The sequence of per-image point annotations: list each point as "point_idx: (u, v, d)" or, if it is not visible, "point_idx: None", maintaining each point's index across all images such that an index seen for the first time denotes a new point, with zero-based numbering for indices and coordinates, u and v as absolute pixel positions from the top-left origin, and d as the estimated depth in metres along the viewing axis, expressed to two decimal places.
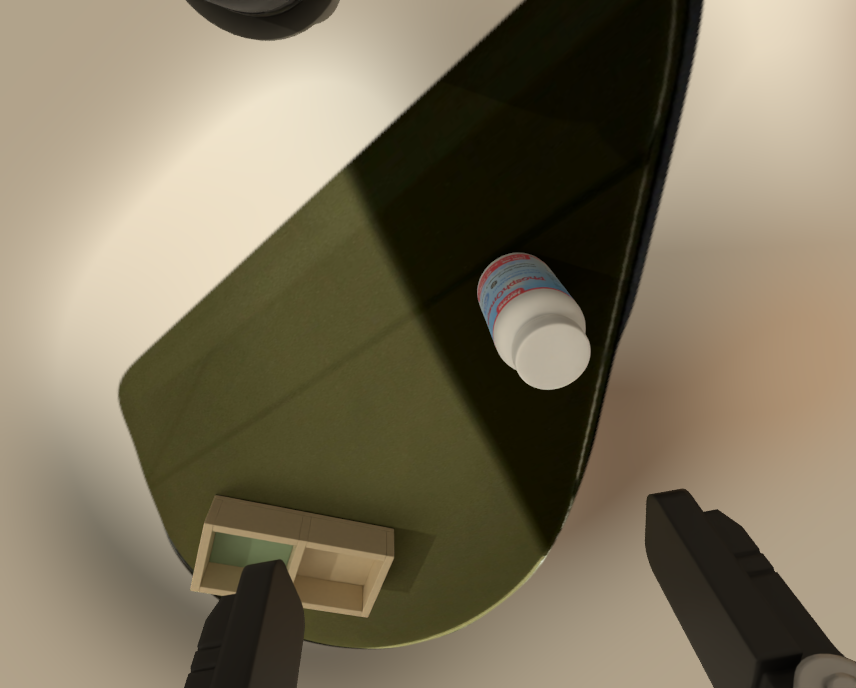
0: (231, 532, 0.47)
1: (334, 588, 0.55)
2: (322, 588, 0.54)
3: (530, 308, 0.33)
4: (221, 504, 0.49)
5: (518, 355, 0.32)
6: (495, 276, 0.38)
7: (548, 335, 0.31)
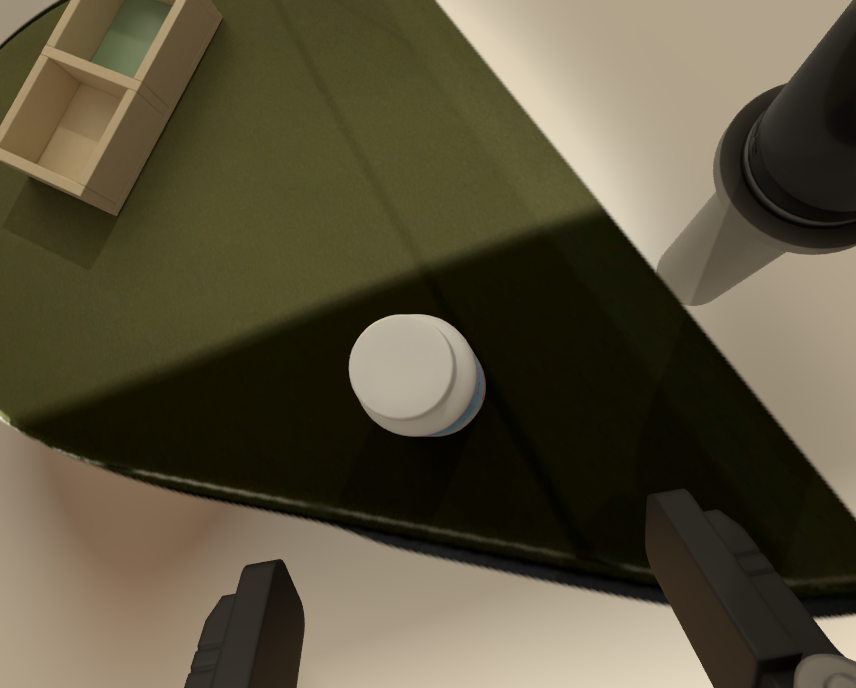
0: (174, 7, 0.38)
1: (44, 126, 0.40)
2: (49, 110, 0.40)
3: (459, 354, 0.25)
4: (210, 16, 0.40)
5: (411, 318, 0.23)
6: None
7: (435, 358, 0.23)
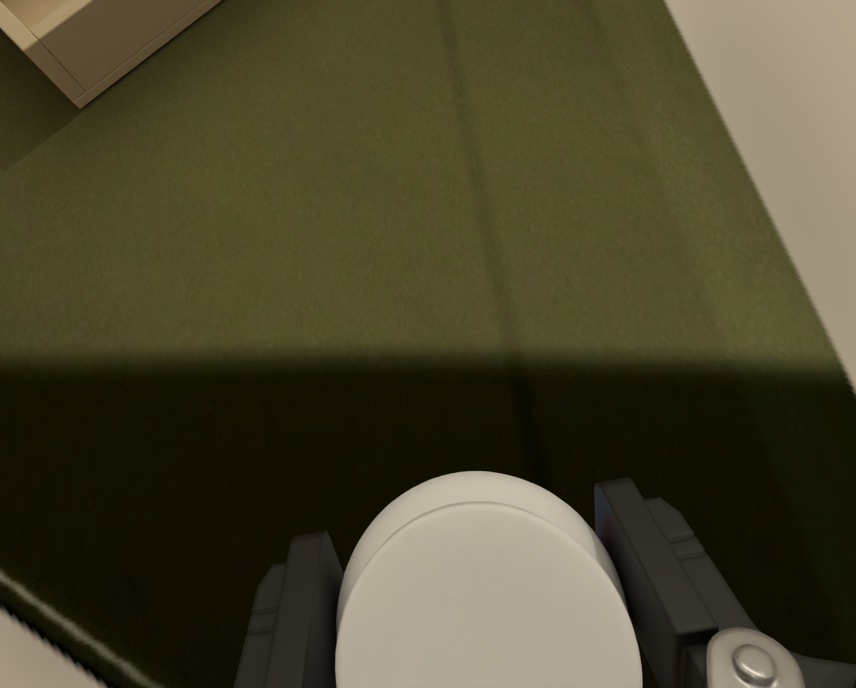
0: None
1: None
2: None
3: None
4: None
5: (558, 536, 0.08)
6: None
7: (596, 686, 0.08)
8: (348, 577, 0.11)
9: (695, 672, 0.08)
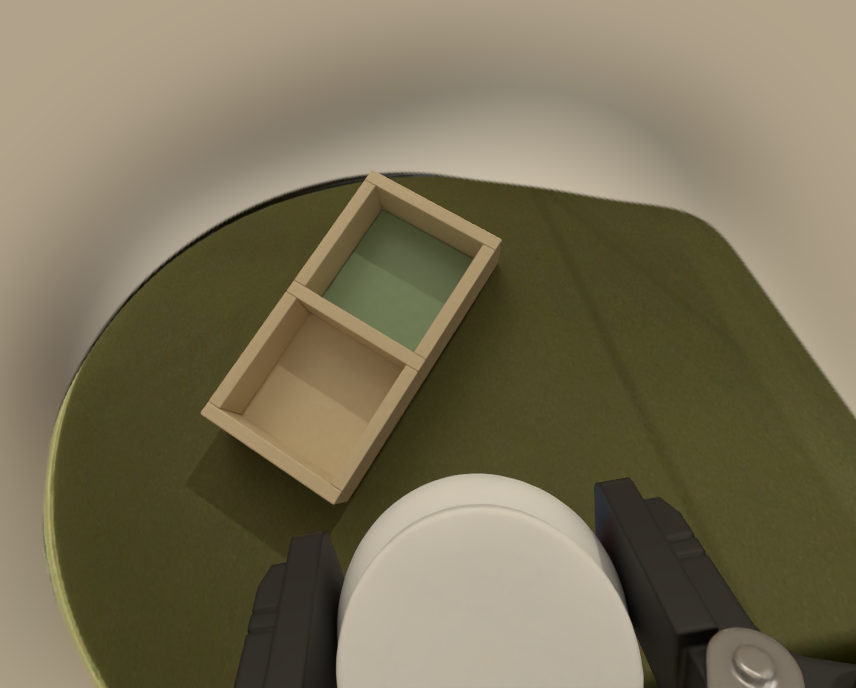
0: (472, 268, 0.30)
1: (265, 369, 0.32)
2: (275, 351, 0.32)
3: None
4: (492, 267, 0.33)
5: (558, 540, 0.08)
6: None
7: None
8: (349, 580, 0.11)
9: (695, 672, 0.08)
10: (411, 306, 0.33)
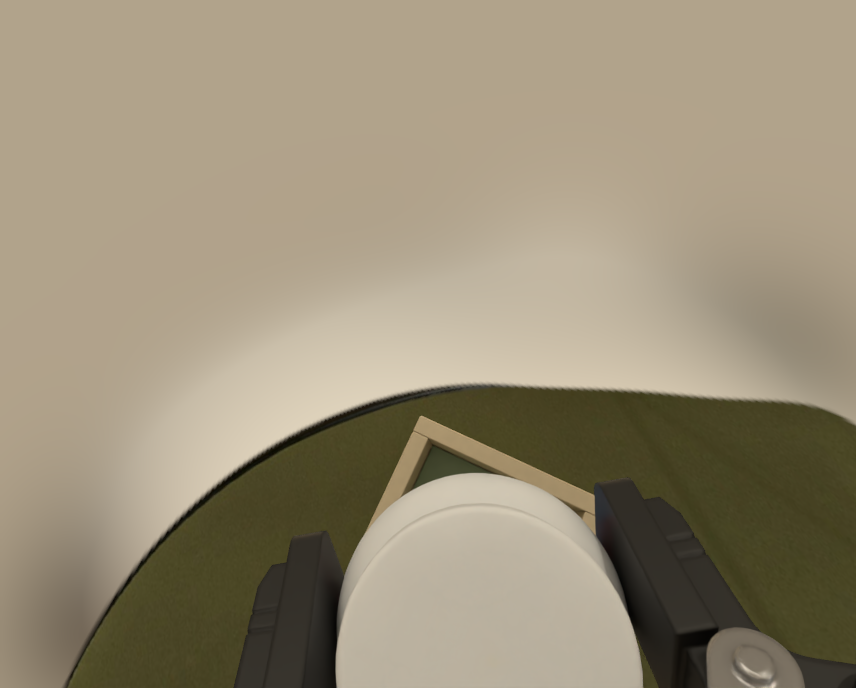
0: None
1: None
2: None
3: None
4: None
5: (558, 538, 0.08)
6: None
7: None
8: (348, 579, 0.11)
9: (695, 672, 0.08)
10: None
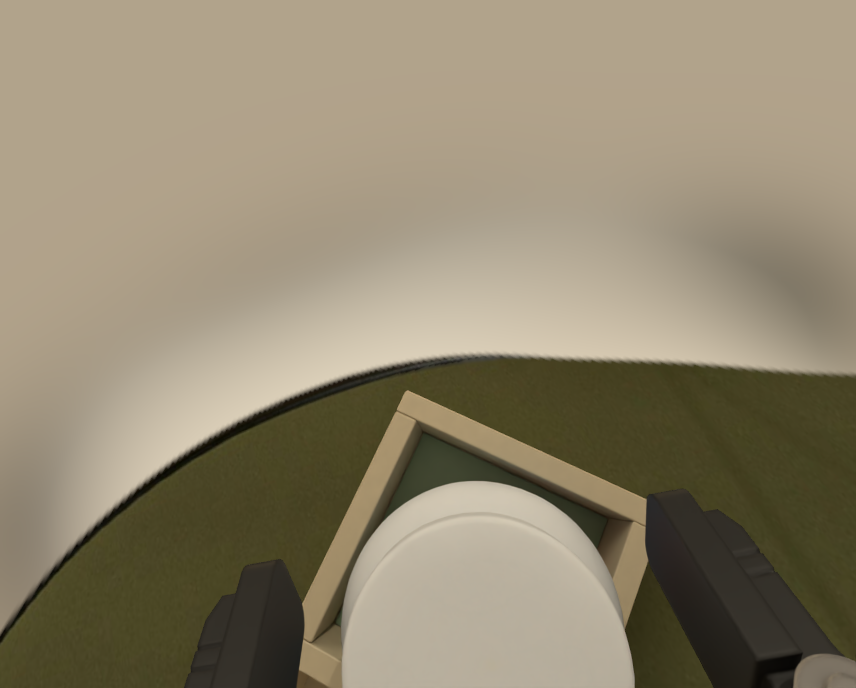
0: (623, 576, 0.16)
1: None
2: None
3: None
4: None
5: (554, 547, 0.09)
6: None
7: None
8: (352, 584, 0.11)
9: None
10: None
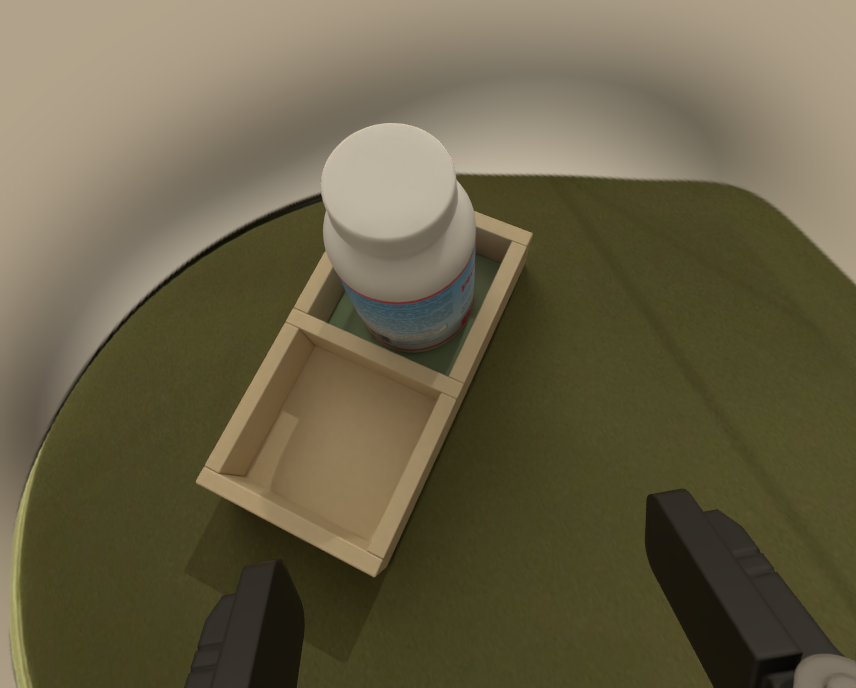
0: (503, 270, 0.26)
1: (268, 419, 0.27)
2: (279, 395, 0.27)
3: (461, 214, 0.20)
4: (521, 268, 0.28)
5: (422, 132, 0.18)
6: None
7: (434, 183, 0.18)
8: None
9: None
10: None
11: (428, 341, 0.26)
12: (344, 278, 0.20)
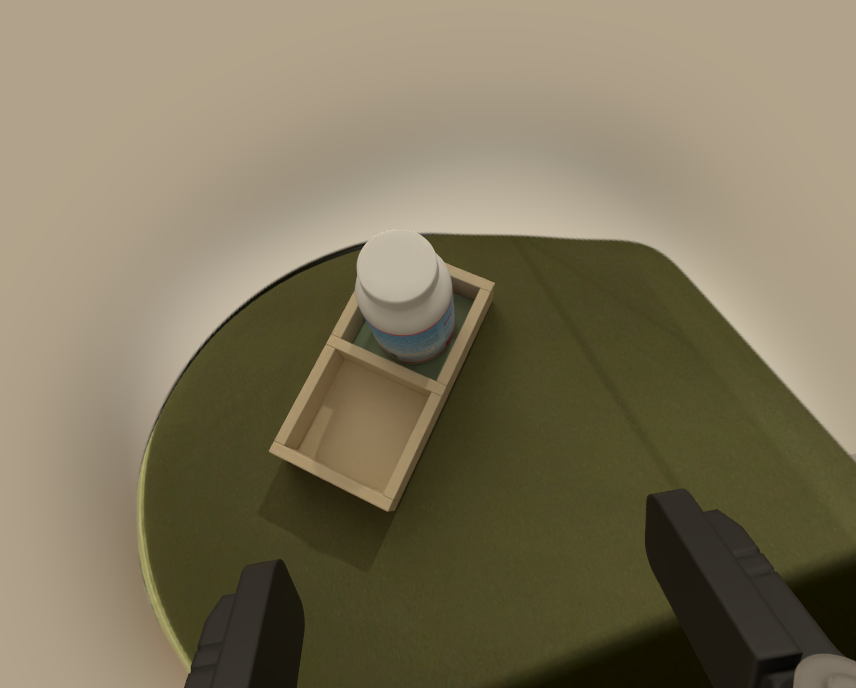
0: (474, 309, 0.38)
1: (313, 410, 0.39)
2: (321, 394, 0.39)
3: (442, 281, 0.32)
4: (488, 304, 0.40)
5: (417, 235, 0.30)
6: None
7: (424, 268, 0.30)
8: None
9: None
10: None
11: (423, 357, 0.38)
12: (369, 320, 0.32)
